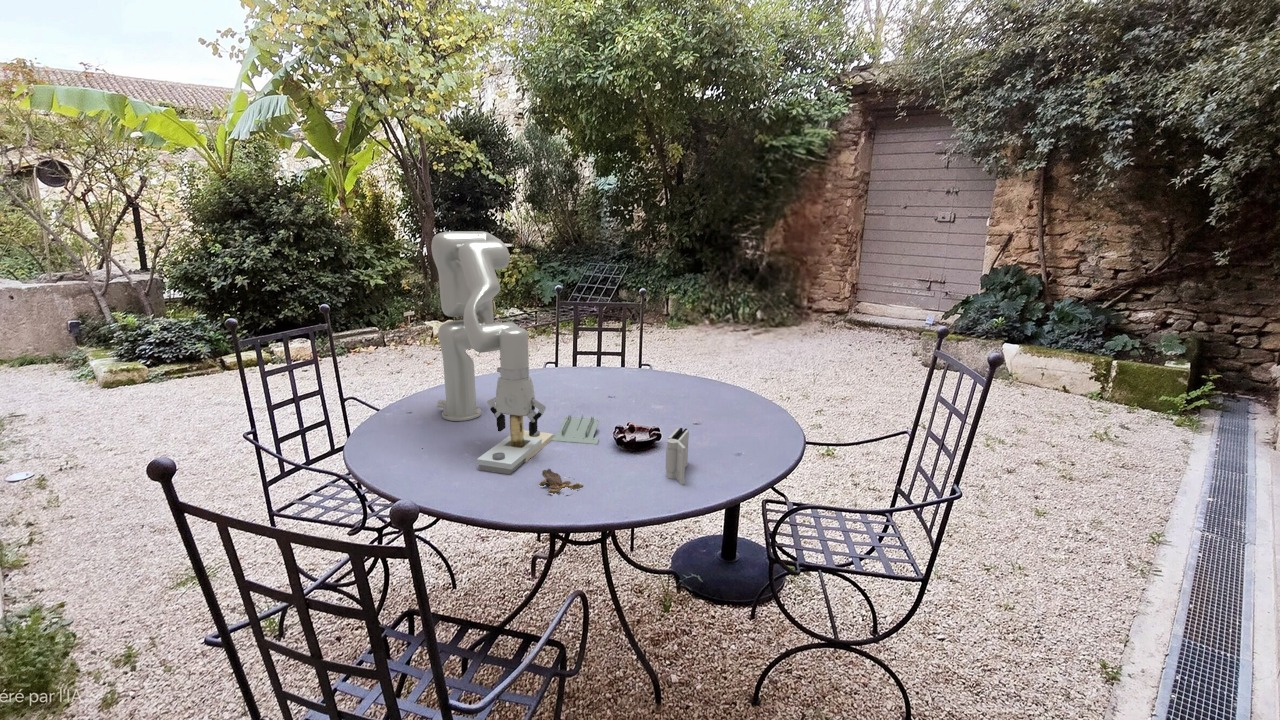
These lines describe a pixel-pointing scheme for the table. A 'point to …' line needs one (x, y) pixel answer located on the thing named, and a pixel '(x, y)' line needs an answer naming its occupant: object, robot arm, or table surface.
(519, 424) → the brass pin
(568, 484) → the frog figurine
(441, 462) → the table surface
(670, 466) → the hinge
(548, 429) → the table surface
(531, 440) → the white peg board
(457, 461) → the table surface
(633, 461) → the table surface
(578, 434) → the metal bracket
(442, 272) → the robot arm
